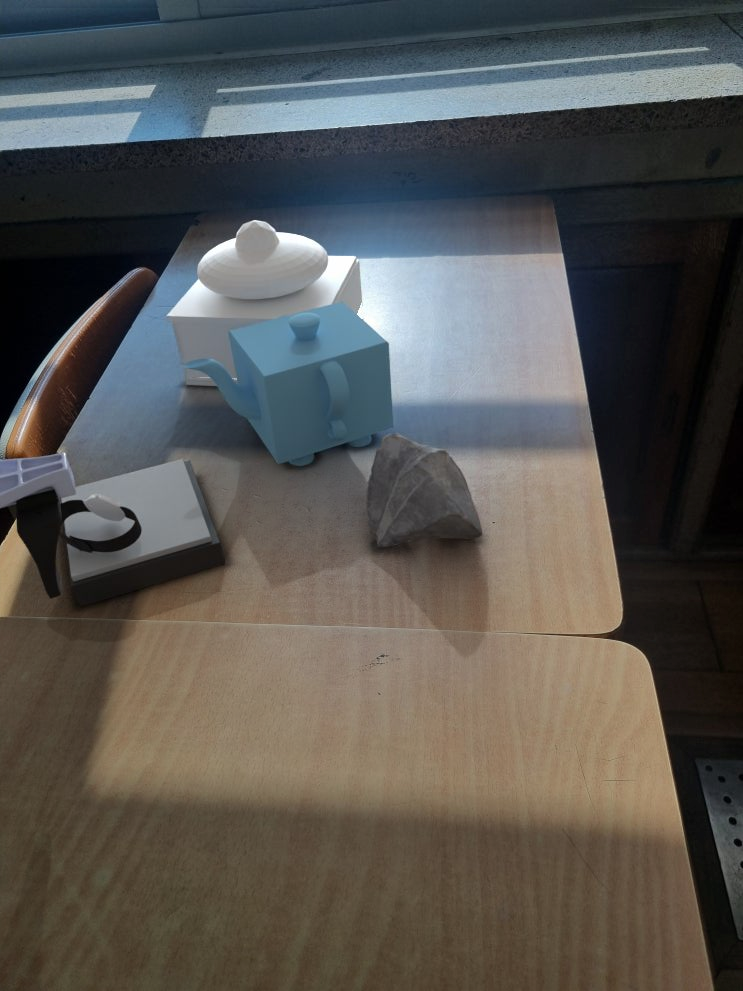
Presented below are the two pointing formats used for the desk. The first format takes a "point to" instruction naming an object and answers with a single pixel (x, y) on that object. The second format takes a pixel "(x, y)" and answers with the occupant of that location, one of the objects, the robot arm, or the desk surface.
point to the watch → (108, 511)
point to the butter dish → (256, 291)
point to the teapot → (308, 381)
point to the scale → (143, 533)
